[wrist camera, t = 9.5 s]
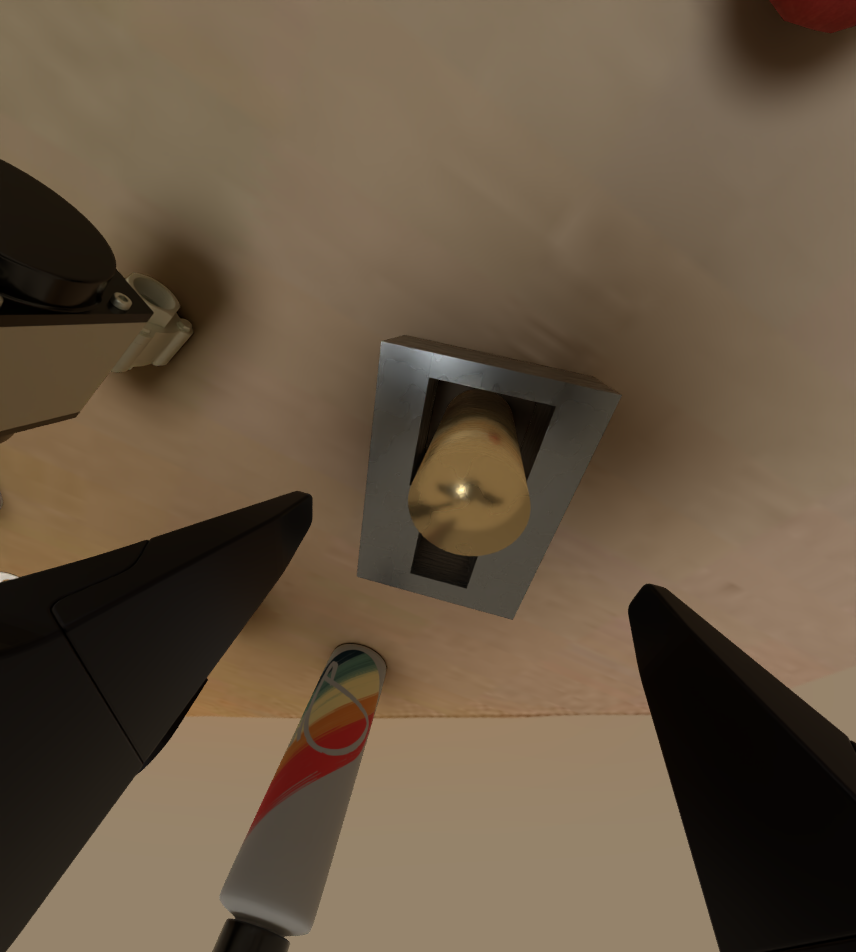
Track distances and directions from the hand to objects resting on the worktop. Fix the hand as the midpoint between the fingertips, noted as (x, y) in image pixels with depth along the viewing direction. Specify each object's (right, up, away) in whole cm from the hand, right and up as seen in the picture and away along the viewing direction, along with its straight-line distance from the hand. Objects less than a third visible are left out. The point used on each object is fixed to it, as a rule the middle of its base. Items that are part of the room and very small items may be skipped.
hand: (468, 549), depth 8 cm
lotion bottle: (-8, -16, +23) cm, 29 cm away
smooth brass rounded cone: (+2, +5, +10) cm, 11 cm away
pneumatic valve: (-17, +11, +10) cm, 23 cm away
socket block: (+1, +2, +11) cm, 12 cm away
